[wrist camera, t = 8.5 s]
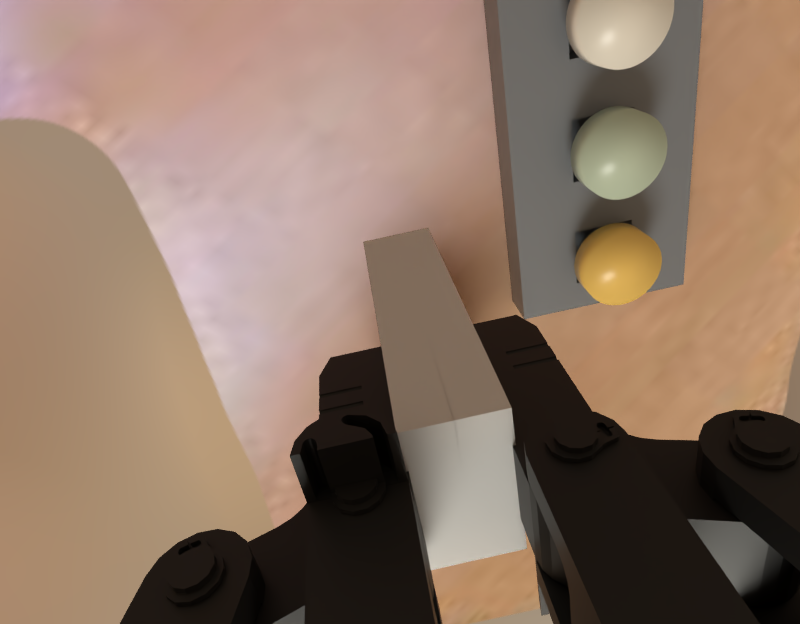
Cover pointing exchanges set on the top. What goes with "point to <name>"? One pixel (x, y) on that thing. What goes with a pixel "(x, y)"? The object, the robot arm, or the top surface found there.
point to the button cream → (617, 30)
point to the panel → (553, 137)
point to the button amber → (617, 263)
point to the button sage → (619, 152)
